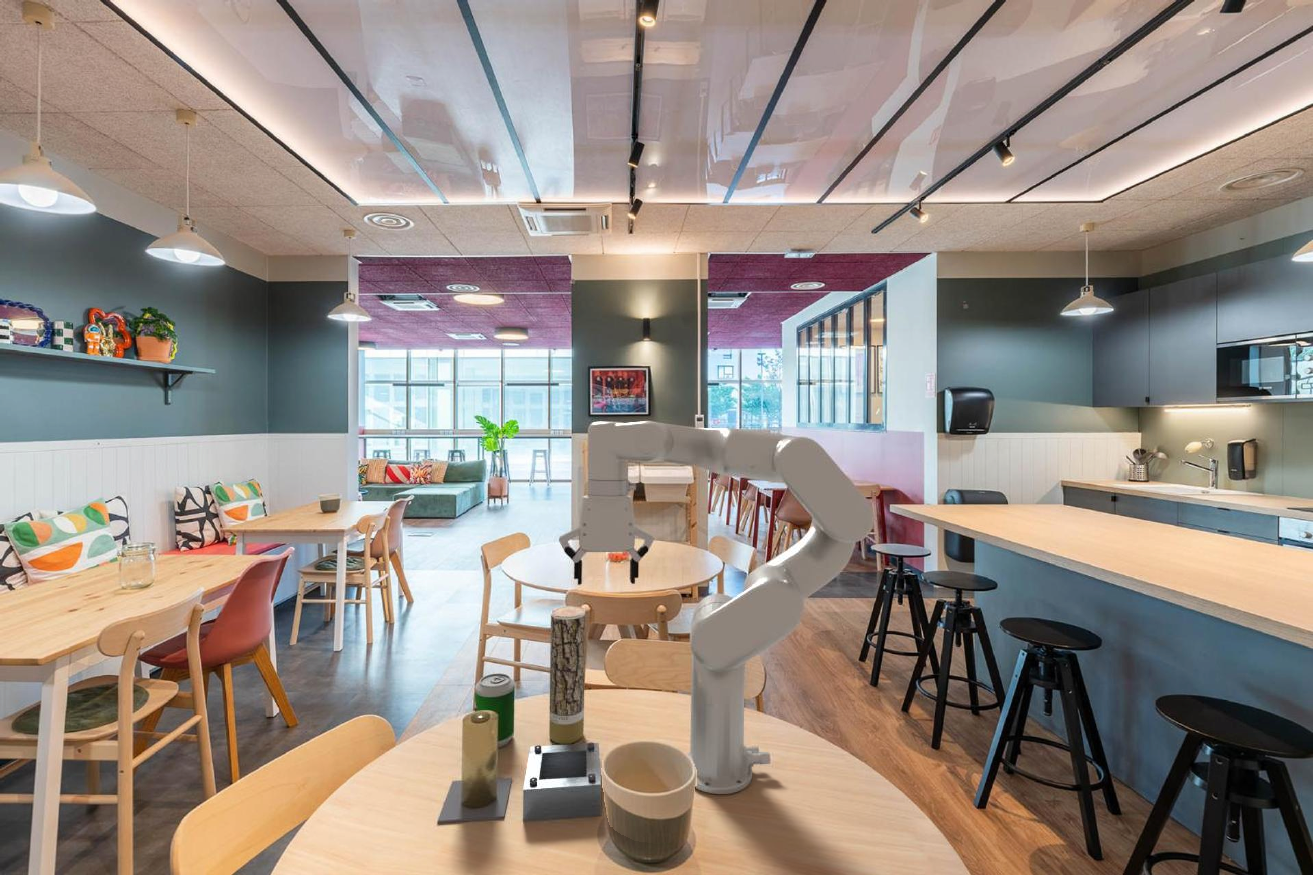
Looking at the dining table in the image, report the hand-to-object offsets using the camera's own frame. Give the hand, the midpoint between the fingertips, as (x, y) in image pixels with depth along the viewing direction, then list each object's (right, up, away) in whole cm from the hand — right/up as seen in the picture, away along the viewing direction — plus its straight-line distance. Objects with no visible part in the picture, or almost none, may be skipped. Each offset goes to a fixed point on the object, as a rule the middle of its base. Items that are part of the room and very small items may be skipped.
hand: (606, 582), depth 102 cm
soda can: (-23, -33, +7) cm, 41 cm away
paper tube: (-9, -33, +9) cm, 36 cm away
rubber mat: (-20, -33, -11) cm, 40 cm away
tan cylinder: (-20, -33, -11) cm, 40 cm away
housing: (-6, -33, -9) cm, 35 cm away
